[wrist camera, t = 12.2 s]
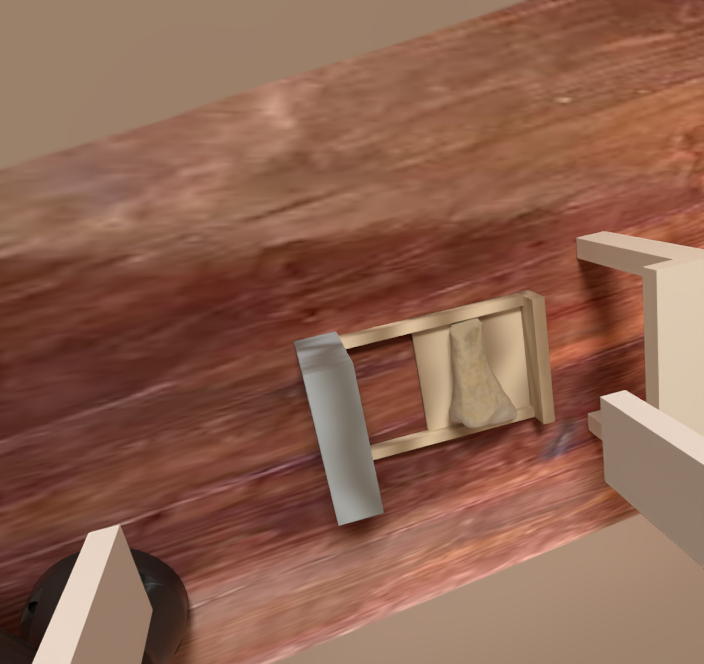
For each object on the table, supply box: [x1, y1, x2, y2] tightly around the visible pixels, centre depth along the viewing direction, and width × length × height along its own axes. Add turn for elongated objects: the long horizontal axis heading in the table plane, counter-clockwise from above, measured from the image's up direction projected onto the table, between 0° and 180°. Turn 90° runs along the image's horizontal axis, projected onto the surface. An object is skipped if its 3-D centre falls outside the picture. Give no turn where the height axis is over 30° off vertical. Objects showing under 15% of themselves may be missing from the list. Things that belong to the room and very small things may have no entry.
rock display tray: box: [294, 290, 555, 525], centre depth 51 cm, size 23×14×9 cm, turn 101°
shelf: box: [576, 231, 704, 440], centre depth 50 cm, size 8×21×14 cm, turn 11°
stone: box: [449, 318, 517, 428], centre depth 53 cm, size 11×6×5 cm, turn 25°
